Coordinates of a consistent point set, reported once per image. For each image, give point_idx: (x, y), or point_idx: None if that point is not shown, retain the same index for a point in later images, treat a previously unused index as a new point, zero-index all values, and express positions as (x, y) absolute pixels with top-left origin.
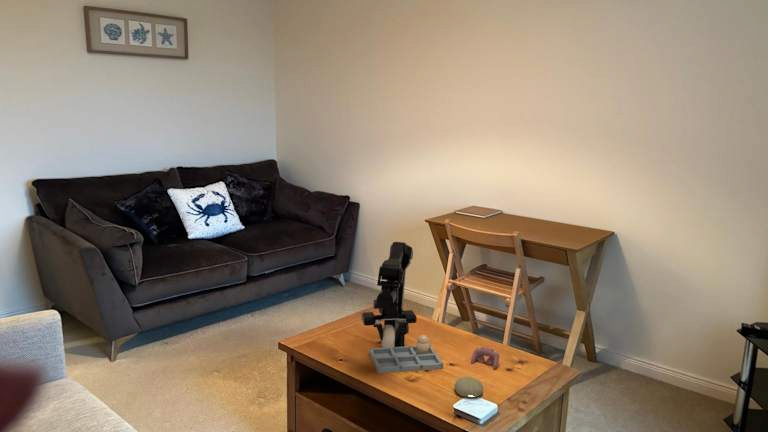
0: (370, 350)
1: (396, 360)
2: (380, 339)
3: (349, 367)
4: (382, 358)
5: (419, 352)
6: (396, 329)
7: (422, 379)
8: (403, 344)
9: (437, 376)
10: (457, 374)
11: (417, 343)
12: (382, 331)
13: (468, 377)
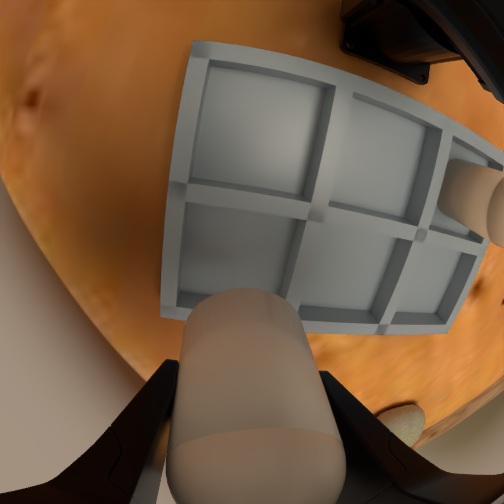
0: (187, 69)
1: (299, 262)
2: (163, 364)
3: (49, 193)
4: (226, 206)
5: (451, 209)
6: (343, 492)
7: (331, 369)
8: (431, 62)
9: (389, 357)
10: (441, 351)
11: (481, 205)
12: (166, 472)
13: (406, 443)
